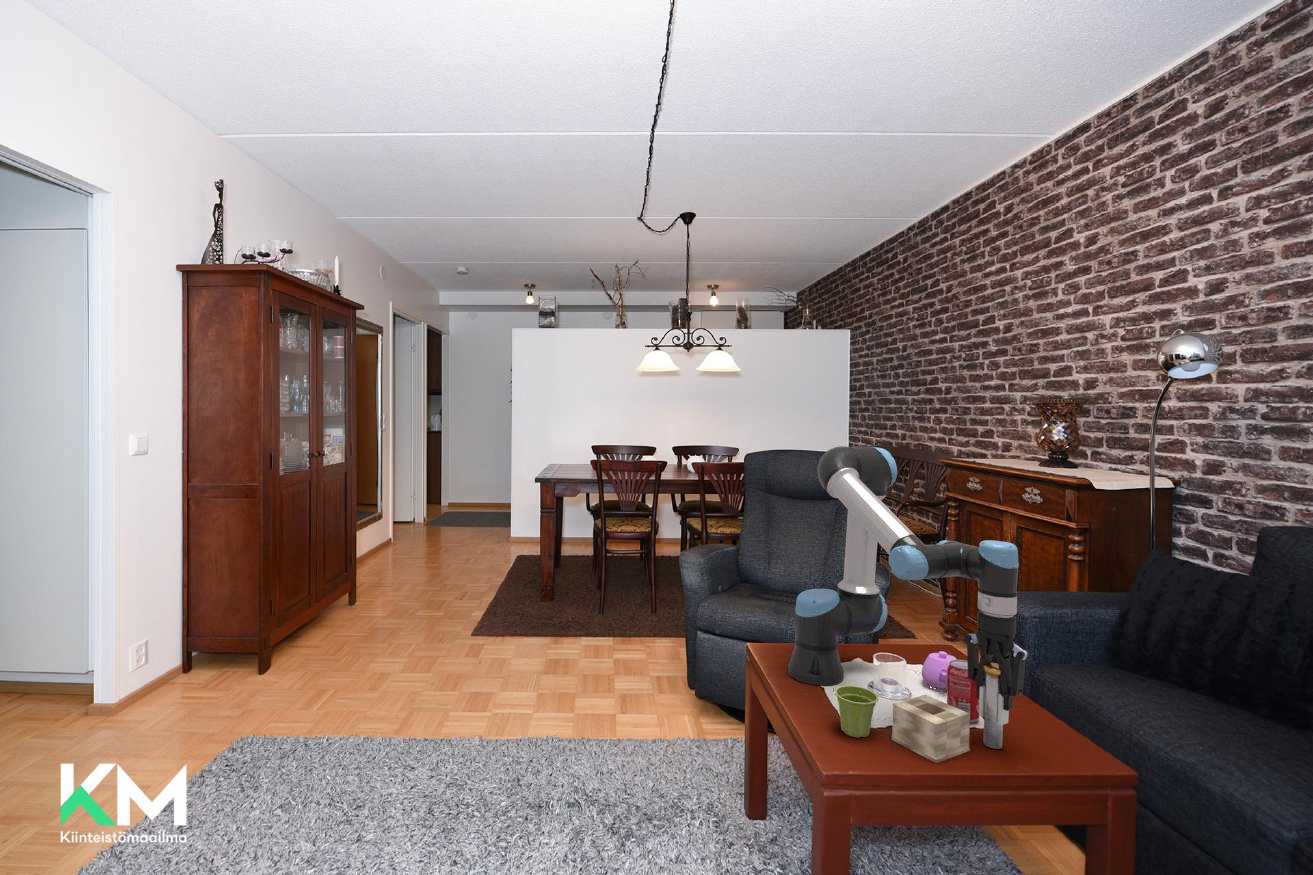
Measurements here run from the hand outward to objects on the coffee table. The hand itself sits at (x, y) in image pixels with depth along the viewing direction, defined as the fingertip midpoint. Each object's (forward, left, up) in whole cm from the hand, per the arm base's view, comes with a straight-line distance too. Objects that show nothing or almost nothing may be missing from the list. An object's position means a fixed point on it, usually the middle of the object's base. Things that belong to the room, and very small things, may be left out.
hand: (993, 718), depth 135 cm
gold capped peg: (0, 0, -6) cm, 6 cm away
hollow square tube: (-7, -12, -6) cm, 15 cm away
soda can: (-12, +7, -6) cm, 15 cm away
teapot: (-26, +19, -6) cm, 33 cm away
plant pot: (-19, -22, -6) cm, 30 cm away
